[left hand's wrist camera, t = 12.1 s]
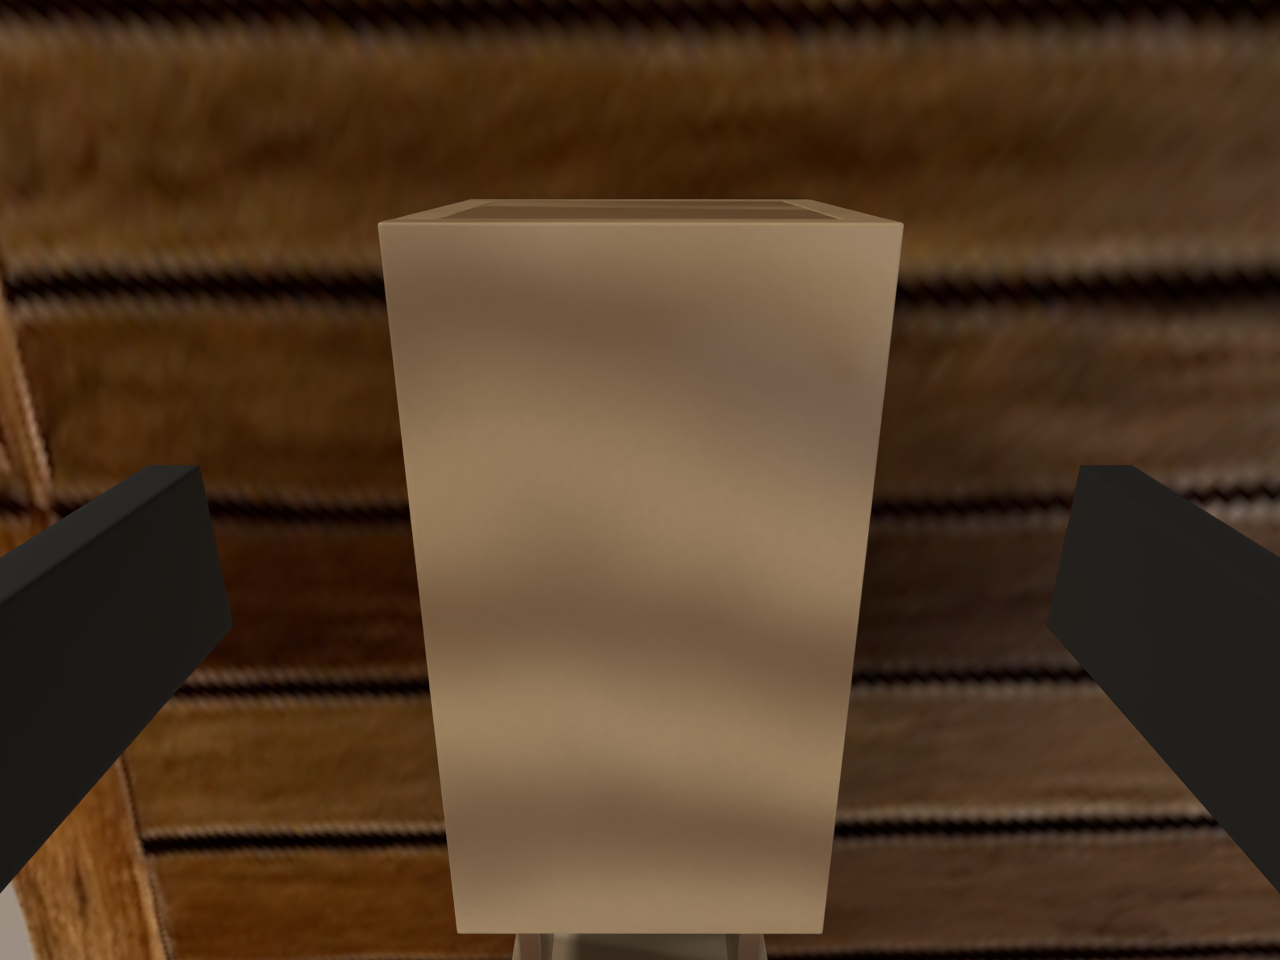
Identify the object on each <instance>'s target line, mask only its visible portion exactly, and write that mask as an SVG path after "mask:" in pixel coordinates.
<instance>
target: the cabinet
mask: <svg viewBox="0 0 1280 960" xmlns="http://www.w3.org/2000/svg"><path fill="white" fill-rule="evenodd" d="M903 227H904V226H903V223H901V222H897V221H893V220H889V219H884V218H880V217H876V216H873V215H869V214H865V213H861V212H857V211H853V210H849V209H845V208H841V207H837V206H833V205H829V204H825V203H821V202H817V201H814V200H783V199H470V200H466V201H463V202H459V203H455V204H451V205H447V206H443V207H439V208H435V209H431V210H427V211H423V212H419V213H415V214H411V215H407V216H404V217H400V218H396V219H391V220H387V221H383V222H380V223H378V231H379V240H380V249H381V257H382V266H383V275H384V284H385V293H386V302H387V311H388V320H389V329H390V337H391V346H392V355H393V364H394V373H395V382H396V391H397V400H398V409H399V418H400V426H401V435H402V444H403V453H404V462H405V471H406V480H407V489H408V498H409V506H410V515H411V524H412V533H413V542H414V551H415V560H416V569H417V578H418V587H419V595H420V604H421V613H422V622H423V631H424V640H425V649H426V658H427V667H428V676H429V684H430V693H431V702H432V711H433V720H434V729H435V738H436V747H437V756H438V764H439V773H440V782H441V791H442V800H443V809H444V818H445V827H446V836H447V845H448V853H449V862H450V871H451V880H452V889H453V898H454V907H455V916H456V925H457V932H458V933H477V934H821V933H822V931H823V923H824V914H825V906H826V897H827V888H828V879H829V871H830V862H831V853H832V845H833V836H834V827H835V819H836V810H837V801H838V792H839V784H840V775H841V766H842V758H843V749H844V740H845V732H846V723H847V714H848V705H849V697H850V688H851V679H852V671H853V662H854V653H855V645H856V636H857V627H858V618H859V610H860V601H861V592H862V584H863V575H864V566H865V558H866V549H867V540H868V531H869V523H870V514H871V505H872V497H873V488H874V479H875V471H876V462H877V453H878V444H879V436H880V427H881V418H882V410H883V401H884V392H885V384H886V375H887V366H888V357H889V349H890V340H891V331H892V323H893V314H894V305H895V297H896V288H897V279H898V270H899V262H900V253H901V244H902V236H903Z"/></svg>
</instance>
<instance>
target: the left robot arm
mask: <svg viewBox="0 0 1280 960" xmlns="http://www.w3.org/2000/svg"><path fill="white" fill-rule="evenodd" d="M232 626H233V622H232V617H231V612H230V608H229V603H228V598H227V594H226V589H225V584H224V579H223V575H222V570H221V565H220V561H219V556H218V551H217V546H216V542H215V537H214V532H213V527H212V523H211V518H210V513H209V509H208V504H207V499H206V494H205V490H204V485H203V480H202V475H201V471H200V466H199V465H148V466H146V467H145V468H143V469H142V470H140V471H138V472H137V473H135V474H133V475H132V476H130V477H129V478H127V479H125V480H124V481H122V482H121V483H119V484H117V485H116V486H114V487H113V488H111V489H109V490H108V491H106V492H105V493H103V494H101V495H100V496H98V497H97V498H95V499H93V500H92V501H90V502H89V503H87V504H85V505H84V506H82V507H81V508H79V509H77V510H76V511H74V512H73V513H71V514H69V515H68V516H66V517H65V518H63V519H61V520H60V521H58V522H57V523H55V524H53V525H52V526H50V527H49V528H47V529H45V530H44V531H42V532H41V533H39V534H37V535H36V536H34V537H33V538H31V539H29V540H28V541H26V542H25V543H23V544H21V545H20V546H18V547H17V548H15V549H13V550H12V551H10V552H9V553H7V554H5V555H4V556H2V557H1V558H0V893H1V892H2V891H3V890H4V888H5V887H6V886H7V885H8V884H9V883H10V882H11V880H12V879H13V878H14V877H15V876H16V875H17V873H18V872H19V871H20V870H21V869H22V868H23V867H24V865H25V864H26V863H27V862H28V861H29V860H30V859H31V857H32V856H33V855H34V854H35V853H36V852H37V850H38V849H39V848H40V847H41V846H42V845H43V844H44V842H45V841H46V840H47V839H48V838H49V837H50V836H51V834H52V833H53V832H54V831H55V830H56V829H57V828H58V826H59V825H60V824H61V823H62V822H63V821H64V819H65V818H66V817H67V816H68V815H69V814H70V813H71V811H72V810H73V809H74V808H75V807H76V806H77V805H78V803H79V802H80V801H81V800H82V799H83V798H84V796H85V795H86V794H87V793H88V792H89V791H90V790H91V788H92V787H93V786H94V785H95V784H96V783H97V782H98V780H99V779H100V778H101V777H102V776H103V775H104V774H105V772H106V771H107V770H108V769H109V768H110V767H111V765H112V764H113V763H114V762H115V761H116V760H117V759H118V757H119V756H120V755H121V754H122V753H123V752H124V751H125V749H126V748H127V747H128V746H129V745H130V744H131V742H132V741H133V740H134V739H135V738H136V737H137V736H138V734H139V733H140V732H141V731H142V730H143V729H144V728H145V726H146V725H147V724H148V723H149V722H150V721H151V719H152V718H153V717H154V716H155V715H156V714H157V713H158V711H159V710H160V709H161V708H162V707H163V706H164V705H165V703H166V702H167V701H168V700H169V699H170V698H171V697H172V695H173V694H174V693H175V692H176V691H177V690H178V688H179V687H180V686H181V685H182V684H183V683H184V682H185V680H186V679H187V678H188V677H189V676H190V675H191V674H192V672H193V671H194V670H195V669H196V668H197V667H198V665H199V664H200V663H201V662H202V661H203V660H204V659H205V657H206V656H207V655H208V654H209V653H210V652H211V651H212V649H213V648H214V647H215V646H216V645H217V644H218V642H219V641H220V640H221V639H222V638H223V637H224V636H225V634H226V633H227V632H228V631H229V630H230V629H231V628H232ZM1047 626H1048V628H1049V629H1050V630H1051V631H1052V632H1053V633H1054V634H1055V636H1056V637H1057V638H1058V639H1059V640H1060V641H1061V642H1062V644H1063V645H1064V646H1065V647H1066V648H1067V649H1068V651H1069V652H1070V653H1071V654H1072V655H1073V656H1074V657H1075V659H1076V660H1077V661H1078V662H1079V663H1080V664H1081V665H1082V667H1083V668H1084V669H1085V670H1086V671H1087V672H1088V674H1089V675H1090V676H1091V677H1092V678H1093V679H1094V680H1095V682H1096V683H1097V684H1098V685H1099V686H1100V687H1101V688H1102V690H1103V691H1104V692H1105V693H1106V694H1107V695H1108V697H1109V698H1110V699H1111V700H1112V701H1113V702H1114V703H1115V705H1116V706H1117V707H1118V708H1119V709H1120V710H1121V711H1122V713H1123V714H1124V715H1125V716H1126V717H1127V718H1128V719H1129V721H1130V722H1131V723H1132V724H1133V725H1134V726H1135V728H1136V729H1137V730H1138V731H1139V732H1140V733H1141V734H1142V736H1143V737H1144V738H1145V739H1146V740H1147V741H1148V742H1149V744H1150V745H1151V746H1152V747H1153V748H1154V749H1155V751H1156V752H1157V753H1158V754H1159V755H1160V756H1161V757H1162V759H1163V760H1164V761H1165V762H1166V763H1167V764H1168V765H1169V767H1170V768H1171V769H1172V770H1173V771H1174V772H1175V774H1176V775H1177V776H1178V777H1179V778H1180V779H1181V780H1182V782H1183V783H1184V784H1185V785H1186V786H1187V787H1188V788H1189V790H1190V791H1191V792H1192V793H1193V794H1194V795H1195V796H1196V798H1197V799H1198V800H1199V801H1200V802H1201V803H1202V805H1203V806H1204V807H1205V808H1206V809H1207V810H1208V811H1209V813H1210V814H1211V815H1212V816H1213V817H1214V818H1215V819H1216V821H1217V822H1218V823H1219V824H1220V825H1221V826H1222V828H1223V829H1224V830H1225V831H1226V832H1227V833H1228V834H1229V836H1230V837H1231V838H1232V839H1233V840H1234V841H1235V842H1236V844H1237V845H1238V846H1239V847H1240V848H1241V849H1242V850H1243V852H1244V853H1245V854H1246V855H1247V856H1248V857H1249V859H1250V860H1251V861H1252V862H1253V863H1254V864H1255V865H1256V867H1257V868H1258V869H1259V870H1260V871H1261V872H1262V873H1263V875H1264V876H1265V877H1266V878H1267V879H1268V880H1269V882H1270V883H1271V884H1272V885H1273V886H1274V887H1275V888H1276V890H1277V891H1278V892H1279V893H1280V558H1279V557H1278V556H1276V555H1275V554H1273V553H1271V552H1270V551H1268V550H1267V549H1265V548H1263V547H1262V546H1260V545H1259V544H1257V543H1255V542H1254V541H1252V540H1251V539H1249V538H1247V537H1246V536H1244V535H1243V534H1241V533H1239V532H1238V531H1236V530H1235V529H1233V528H1231V527H1230V526H1228V525H1227V524H1225V523H1223V522H1222V521H1220V520H1219V519H1217V518H1215V517H1214V516H1212V515H1211V514H1209V513H1207V512H1206V511H1204V510H1203V509H1201V508H1199V507H1198V506H1196V505H1195V504H1193V503H1191V502H1190V501H1188V500H1187V499H1185V498H1183V497H1182V496H1180V495H1179V494H1177V493H1175V492H1174V491H1172V490H1171V489H1169V488H1167V487H1166V486H1164V485H1163V484H1161V483H1159V482H1158V481H1156V480H1155V479H1153V478H1151V477H1150V476H1148V475H1147V474H1145V473H1143V472H1142V471H1140V470H1138V469H1137V468H1135V467H1134V466H1132V465H1081V466H1080V471H1079V475H1078V480H1077V485H1076V490H1075V494H1074V499H1073V504H1072V509H1071V513H1070V518H1069V523H1068V527H1067V532H1066V537H1065V542H1064V546H1063V551H1062V556H1061V560H1060V565H1059V570H1058V575H1057V579H1056V584H1055V589H1054V594H1053V598H1052V603H1051V608H1050V612H1049V617H1048V622H1047Z"/></svg>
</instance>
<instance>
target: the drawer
mask: <svg viewBox="0 0 1280 960" xmlns="http://www.w3.org/2000/svg"><path fill="white" fill-rule="evenodd" d="M512 960H767V955H766V948H765V942H764V936H763V934H516V939H515V945H514V951H513V957H512Z"/></svg>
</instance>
